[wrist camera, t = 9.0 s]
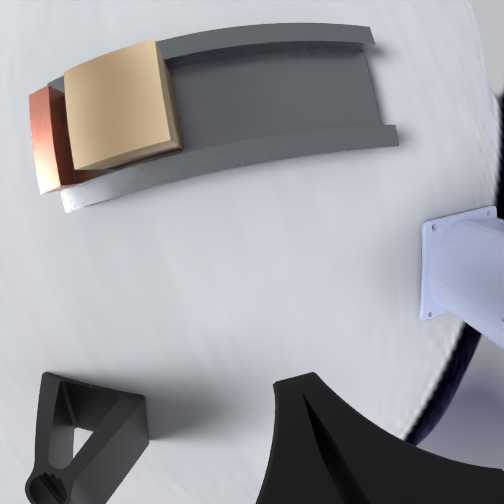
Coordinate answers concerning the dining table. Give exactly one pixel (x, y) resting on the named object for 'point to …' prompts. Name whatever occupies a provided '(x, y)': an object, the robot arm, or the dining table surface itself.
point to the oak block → (121, 108)
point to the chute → (232, 108)
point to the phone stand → (93, 451)
